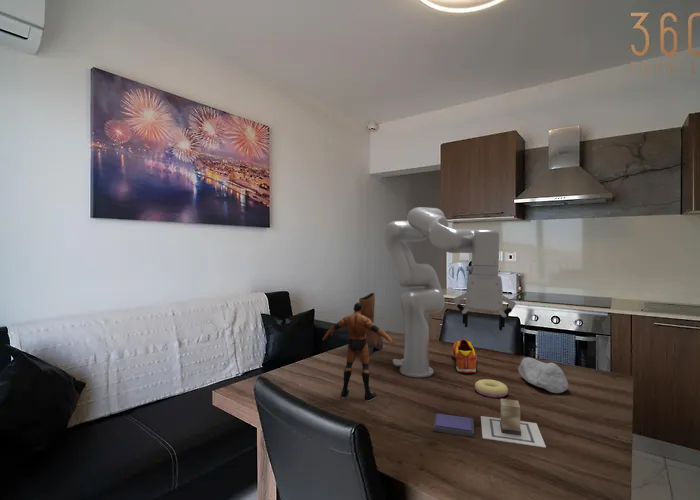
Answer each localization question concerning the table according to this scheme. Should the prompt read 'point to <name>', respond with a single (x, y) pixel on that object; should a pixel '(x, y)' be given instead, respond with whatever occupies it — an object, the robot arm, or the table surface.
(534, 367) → the decorative stone
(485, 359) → the table surface
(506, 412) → the beige cardboard box
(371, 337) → the boot
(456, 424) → the ink pad
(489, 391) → the donut
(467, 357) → the running shoe
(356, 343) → the figurine
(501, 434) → the sheet
